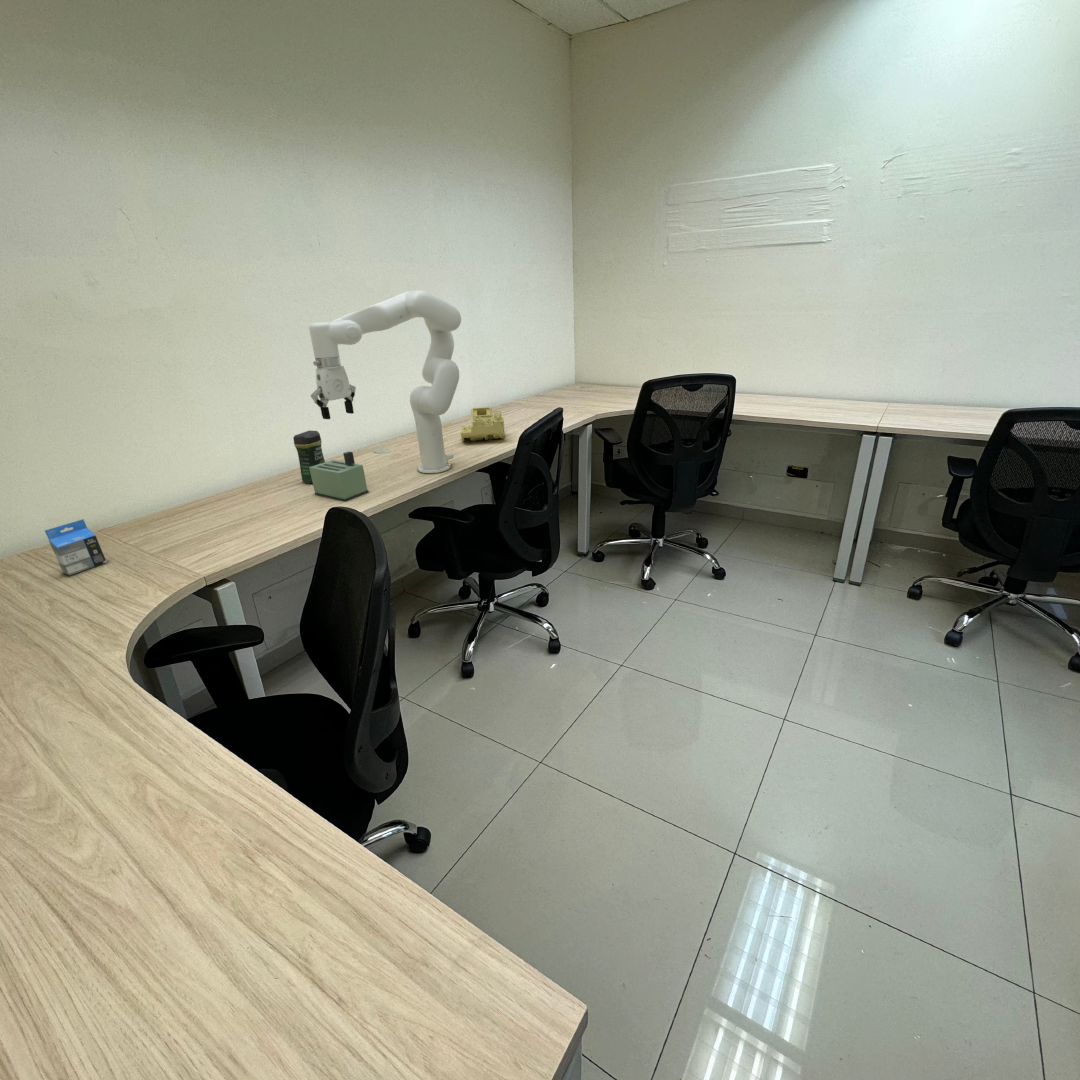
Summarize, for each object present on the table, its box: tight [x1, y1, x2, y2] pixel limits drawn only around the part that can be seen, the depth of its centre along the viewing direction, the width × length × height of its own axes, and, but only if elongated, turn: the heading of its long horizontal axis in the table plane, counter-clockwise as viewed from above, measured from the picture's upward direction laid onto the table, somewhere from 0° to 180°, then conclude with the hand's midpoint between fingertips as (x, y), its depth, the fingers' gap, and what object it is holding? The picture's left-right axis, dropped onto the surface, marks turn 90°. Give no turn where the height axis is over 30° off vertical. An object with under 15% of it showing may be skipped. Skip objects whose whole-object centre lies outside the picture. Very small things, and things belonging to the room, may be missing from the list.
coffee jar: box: [293, 430, 326, 484], centre depth 206 cm, size 10×8×19 cm
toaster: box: [309, 459, 369, 502], centre depth 192 cm, size 10×16×10 cm, turn 57°
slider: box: [342, 451, 356, 465], centre depth 190 cm, size 2×2×4 cm
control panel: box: [460, 406, 506, 442], centre depth 255 cm, size 24×16×20 cm
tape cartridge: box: [44, 518, 107, 576], centre depth 146 cm, size 9×4×12 cm, turn 148°
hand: (338, 416), depth 186 cm, fingers open, 9 cm apart
